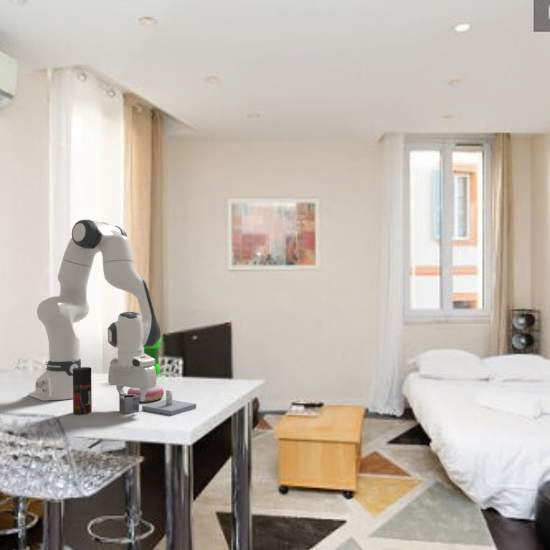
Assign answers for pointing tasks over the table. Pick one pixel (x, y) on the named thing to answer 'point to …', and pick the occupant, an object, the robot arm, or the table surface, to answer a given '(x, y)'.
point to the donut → (148, 393)
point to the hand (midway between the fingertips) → (132, 399)
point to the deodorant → (82, 391)
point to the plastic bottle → (154, 355)
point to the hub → (128, 403)
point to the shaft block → (169, 405)
